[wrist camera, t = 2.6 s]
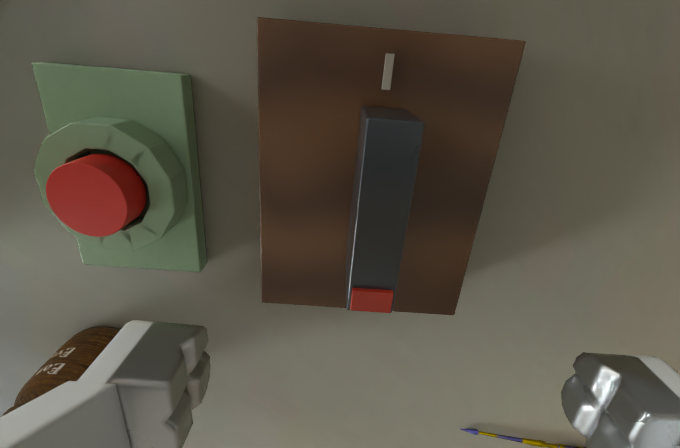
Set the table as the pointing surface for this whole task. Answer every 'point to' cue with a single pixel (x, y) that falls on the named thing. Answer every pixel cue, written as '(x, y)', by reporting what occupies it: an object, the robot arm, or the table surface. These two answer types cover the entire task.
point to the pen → (522, 440)
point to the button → (96, 194)
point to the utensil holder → (66, 363)
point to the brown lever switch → (341, 145)
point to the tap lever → (380, 205)
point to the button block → (129, 157)
